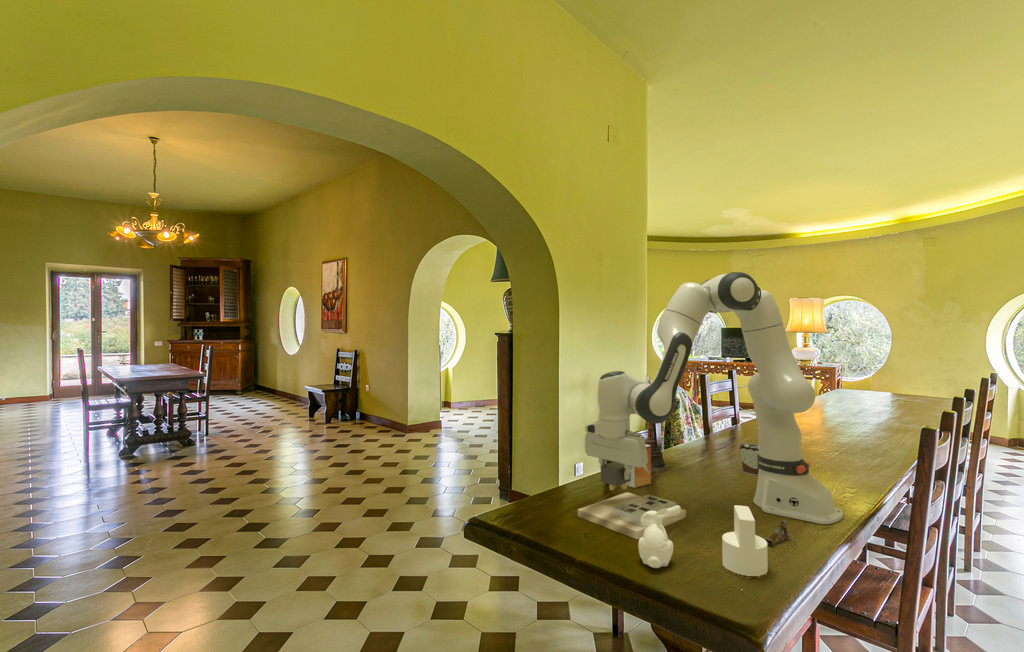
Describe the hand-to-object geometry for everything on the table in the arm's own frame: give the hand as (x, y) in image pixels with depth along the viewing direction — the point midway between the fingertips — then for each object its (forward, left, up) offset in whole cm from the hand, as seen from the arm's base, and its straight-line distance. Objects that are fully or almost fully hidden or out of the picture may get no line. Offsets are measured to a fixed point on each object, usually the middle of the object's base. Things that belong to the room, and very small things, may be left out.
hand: (615, 476), depth 144 cm
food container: (-11, -67, -10) cm, 68 cm away
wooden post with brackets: (-39, -13, -10) cm, 42 cm away
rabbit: (-25, +16, -10) cm, 31 cm away
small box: (+11, -25, -10) cm, 29 cm away
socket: (-10, 0, -8) cm, 13 cm away
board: (-6, 0, -10) cm, 11 cm away
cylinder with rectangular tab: (-40, +5, -10) cm, 41 cm away
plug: (0, -1, -3) cm, 4 cm away
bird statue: (+16, -45, -10) cm, 49 cm away
